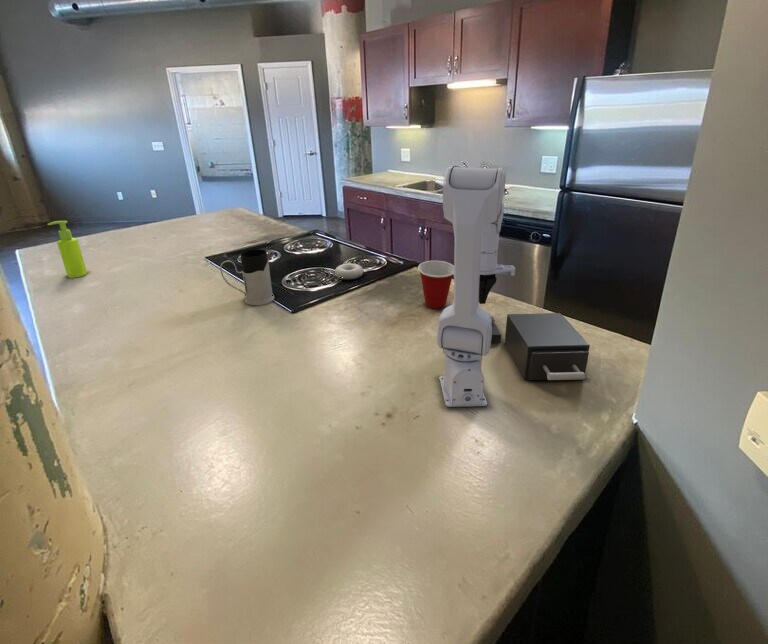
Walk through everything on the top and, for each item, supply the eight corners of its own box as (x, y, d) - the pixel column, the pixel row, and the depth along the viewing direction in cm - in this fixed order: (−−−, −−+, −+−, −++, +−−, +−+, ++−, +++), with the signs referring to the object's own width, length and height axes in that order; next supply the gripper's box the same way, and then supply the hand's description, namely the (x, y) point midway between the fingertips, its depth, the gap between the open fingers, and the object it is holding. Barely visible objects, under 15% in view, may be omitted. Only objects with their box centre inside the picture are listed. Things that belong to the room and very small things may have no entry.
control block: (500, 342, 102) (502, 328, 100) (468, 343, 101) (468, 328, 100) (490, 323, 111) (491, 309, 109) (460, 323, 111) (461, 310, 109)
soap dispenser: (66, 273, 152) (49, 220, 145) (88, 270, 155) (73, 218, 148) (62, 279, 147) (45, 224, 140) (85, 276, 150) (69, 221, 143)
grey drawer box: (583, 378, 87) (590, 345, 84) (524, 380, 87) (528, 346, 84) (556, 342, 101) (560, 312, 98) (504, 344, 101) (507, 314, 98)
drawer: (594, 390, 82) (599, 363, 80) (536, 392, 82) (540, 365, 80) (557, 344, 98) (561, 320, 96) (509, 345, 98) (512, 322, 96)
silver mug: (276, 302, 126) (270, 255, 120) (226, 310, 121) (218, 262, 116) (272, 291, 133) (266, 247, 128) (225, 299, 129) (217, 253, 123)
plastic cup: (425, 315, 116) (425, 275, 111) (412, 299, 126) (412, 262, 121) (460, 310, 118) (462, 271, 114) (445, 295, 128) (447, 258, 124)
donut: (341, 270, 151) (330, 279, 142) (341, 261, 150) (329, 270, 141) (367, 272, 148) (357, 282, 139) (367, 263, 147) (357, 272, 138)
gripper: (511, 244, 102) (506, 294, 107) (451, 245, 102) (449, 296, 107) (520, 253, 95) (514, 306, 100) (457, 254, 95) (454, 308, 100)
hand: (481, 302), depth 103 cm, fingers closed
